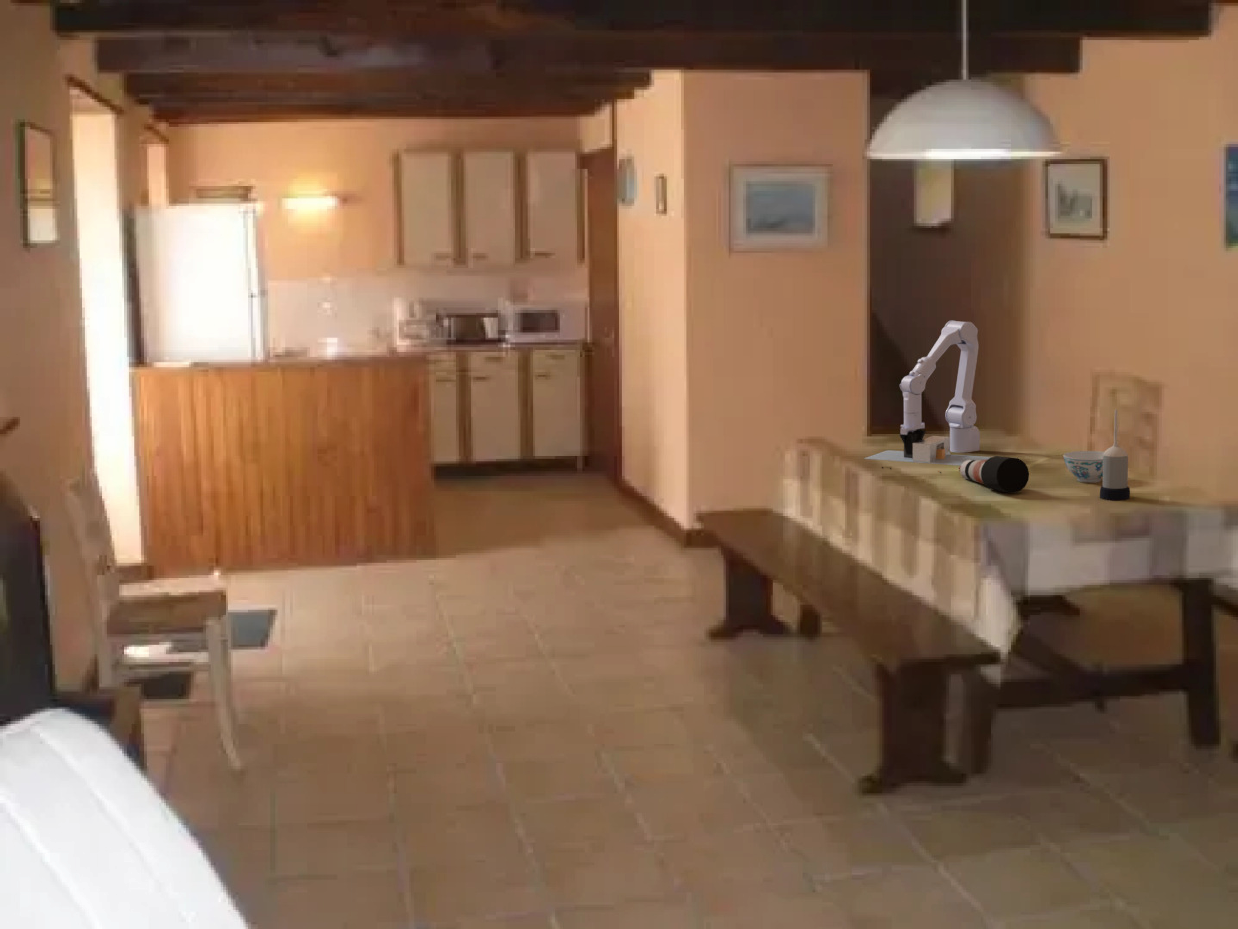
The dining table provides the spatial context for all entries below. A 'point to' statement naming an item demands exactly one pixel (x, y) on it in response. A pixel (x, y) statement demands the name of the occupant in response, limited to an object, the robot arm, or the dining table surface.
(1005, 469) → the striped cylinder
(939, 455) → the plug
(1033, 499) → the dining table surface
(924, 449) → the grey arch block
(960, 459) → the board
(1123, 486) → the nozzle bottle
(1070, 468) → the chinaware
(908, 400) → the robot arm
